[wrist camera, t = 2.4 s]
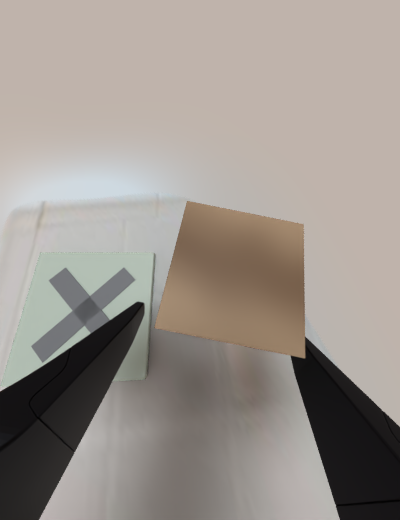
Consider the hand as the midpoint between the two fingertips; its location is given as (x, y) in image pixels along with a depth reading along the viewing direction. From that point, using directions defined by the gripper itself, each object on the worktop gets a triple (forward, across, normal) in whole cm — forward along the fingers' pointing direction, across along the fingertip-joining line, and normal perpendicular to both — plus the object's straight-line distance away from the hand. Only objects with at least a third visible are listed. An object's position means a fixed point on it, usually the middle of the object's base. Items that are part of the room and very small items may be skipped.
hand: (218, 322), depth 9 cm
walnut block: (+9, 0, +5) cm, 10 cm away
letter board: (+5, +13, +9) cm, 17 cm away
